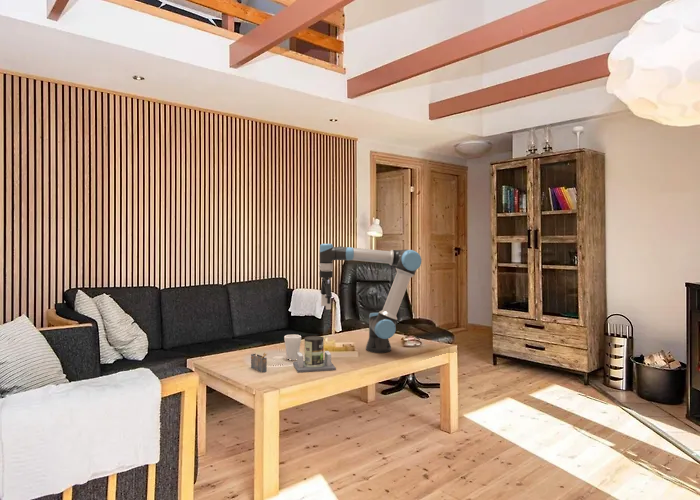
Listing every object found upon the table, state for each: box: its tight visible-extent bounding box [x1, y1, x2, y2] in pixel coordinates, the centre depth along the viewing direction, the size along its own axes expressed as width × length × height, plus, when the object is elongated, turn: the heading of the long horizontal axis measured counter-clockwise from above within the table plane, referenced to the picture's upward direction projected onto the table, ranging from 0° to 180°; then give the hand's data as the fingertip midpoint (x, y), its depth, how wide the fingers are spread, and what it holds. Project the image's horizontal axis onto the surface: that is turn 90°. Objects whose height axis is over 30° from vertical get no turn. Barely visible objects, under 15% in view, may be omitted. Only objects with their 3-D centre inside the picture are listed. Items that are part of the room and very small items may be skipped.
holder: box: [292, 350, 337, 374], centre depth 256 cm, size 20×17×7 cm
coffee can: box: [303, 335, 325, 366], centre depth 256 cm, size 10×10×14 cm
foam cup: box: [283, 334, 302, 361], centre depth 271 cm, size 10×9×13 cm
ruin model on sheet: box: [250, 352, 268, 373], centre depth 250 cm, size 11×3×10 cm, turn 41°
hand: (325, 307), depth 275 cm, fingers open, 13 cm apart
